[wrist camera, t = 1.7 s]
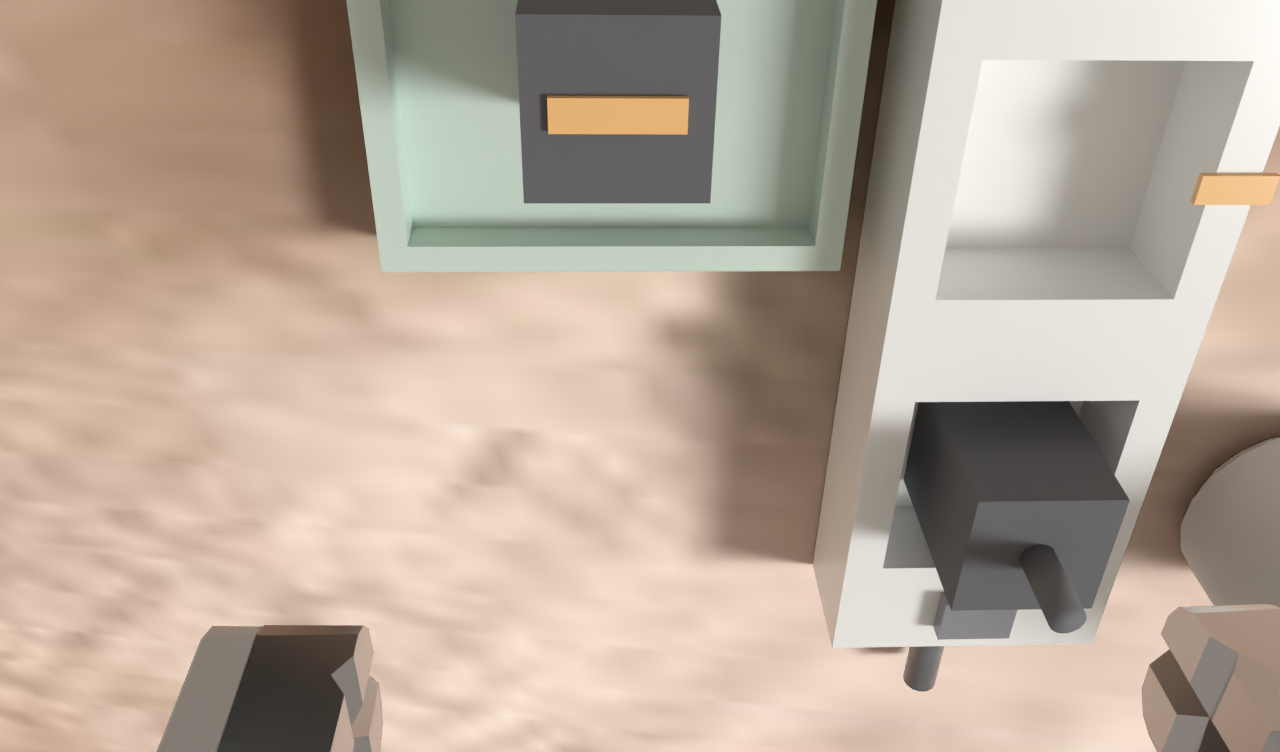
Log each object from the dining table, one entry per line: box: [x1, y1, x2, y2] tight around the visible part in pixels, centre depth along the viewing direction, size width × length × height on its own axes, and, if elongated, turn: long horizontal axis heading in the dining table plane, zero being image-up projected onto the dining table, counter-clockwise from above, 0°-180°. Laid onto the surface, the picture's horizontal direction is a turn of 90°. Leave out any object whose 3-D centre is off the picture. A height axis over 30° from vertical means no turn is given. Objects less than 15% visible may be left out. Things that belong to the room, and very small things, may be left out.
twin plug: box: [903, 401, 1130, 633], centre depth 33 cm, size 4×4×8 cm
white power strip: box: [813, 0, 1280, 691], centre depth 34 cm, size 29×9×5 cm, turn 179°
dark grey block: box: [515, 0, 721, 203], centre depth 26 cm, size 4×4×6 cm
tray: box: [346, 0, 877, 272], centre depth 28 cm, size 13×13×2 cm
